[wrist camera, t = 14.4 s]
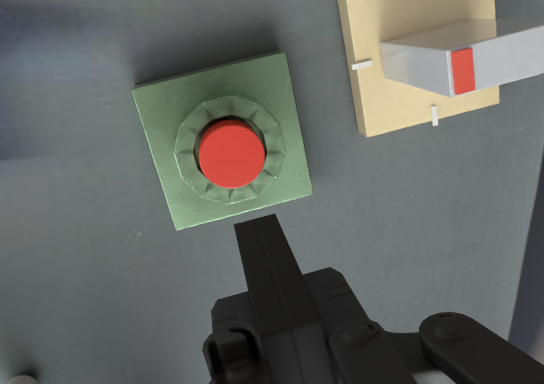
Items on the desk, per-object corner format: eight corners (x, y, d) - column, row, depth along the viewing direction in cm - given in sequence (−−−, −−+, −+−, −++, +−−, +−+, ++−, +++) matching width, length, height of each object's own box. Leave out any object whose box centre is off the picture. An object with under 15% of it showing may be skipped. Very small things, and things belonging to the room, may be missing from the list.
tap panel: (480, -52, 33) (499, -56, 31) (489, 102, 37) (506, 107, 35) (329, -17, 32) (338, -19, 30) (354, 137, 36) (363, 144, 34)
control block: (279, 49, 33) (291, 53, 30) (306, 184, 37) (320, 203, 33) (134, 84, 32) (127, 93, 29) (176, 219, 36) (175, 241, 32)
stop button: (253, 112, 31) (256, 117, 29) (267, 171, 32) (271, 179, 31) (191, 128, 30) (191, 134, 29) (207, 187, 32) (208, 195, 30)
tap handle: (471, 18, 33) (573, 17, 24) (474, 54, 33) (573, 66, 25) (379, 42, 32) (448, 50, 24) (384, 78, 33) (453, 99, 24)
